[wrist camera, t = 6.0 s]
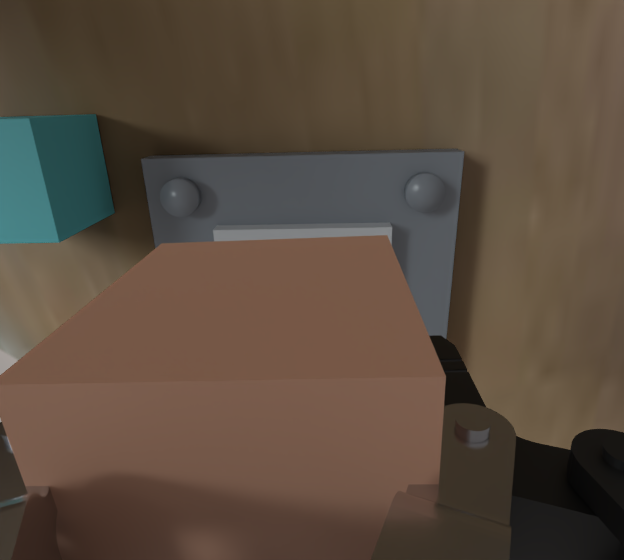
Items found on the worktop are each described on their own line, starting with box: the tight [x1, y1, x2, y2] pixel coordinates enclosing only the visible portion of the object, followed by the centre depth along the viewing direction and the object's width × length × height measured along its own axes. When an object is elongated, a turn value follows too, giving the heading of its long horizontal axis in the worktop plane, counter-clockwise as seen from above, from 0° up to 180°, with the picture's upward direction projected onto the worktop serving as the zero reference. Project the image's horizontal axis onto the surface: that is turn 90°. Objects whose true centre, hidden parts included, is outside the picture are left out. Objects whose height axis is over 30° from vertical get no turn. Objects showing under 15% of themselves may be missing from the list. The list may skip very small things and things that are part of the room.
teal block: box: [0, 114, 115, 244], centre depth 23 cm, size 6×6×6 cm
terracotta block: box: [0, 235, 446, 560], centre depth 9 cm, size 6×6×6 cm
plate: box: [141, 149, 464, 339], centre depth 27 cm, size 17×17×2 cm
